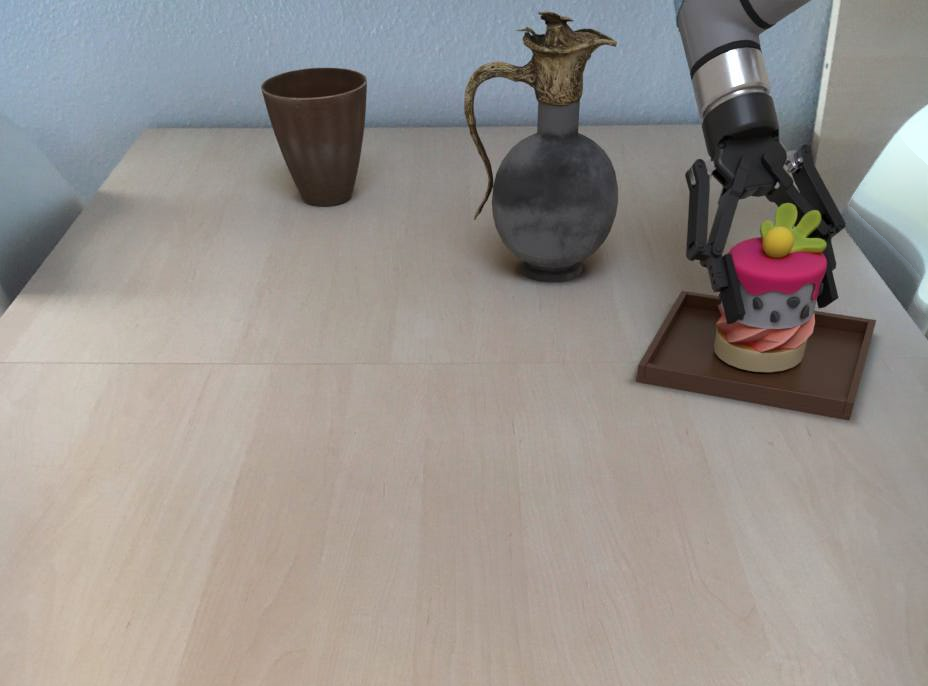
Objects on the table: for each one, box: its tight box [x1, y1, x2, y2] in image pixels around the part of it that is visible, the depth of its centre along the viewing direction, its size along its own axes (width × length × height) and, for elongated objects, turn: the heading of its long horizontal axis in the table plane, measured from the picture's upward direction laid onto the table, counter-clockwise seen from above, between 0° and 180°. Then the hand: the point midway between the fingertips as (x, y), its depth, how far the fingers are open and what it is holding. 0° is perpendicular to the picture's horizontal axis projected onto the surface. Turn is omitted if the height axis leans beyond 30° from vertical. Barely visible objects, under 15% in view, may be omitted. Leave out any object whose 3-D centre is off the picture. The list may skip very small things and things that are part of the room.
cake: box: [714, 203, 827, 372], centre depth 110 cm, size 10×11×15 cm
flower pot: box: [260, 67, 368, 207], centre depth 150 cm, size 15×15×16 cm
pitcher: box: [463, 11, 619, 283], centre depth 124 cm, size 11×19×30 cm, turn 81°
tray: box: [636, 290, 877, 421], centre depth 115 cm, size 23×20×2 cm
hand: (782, 311), depth 109 cm, fingers closed on cake, 10 cm apart
